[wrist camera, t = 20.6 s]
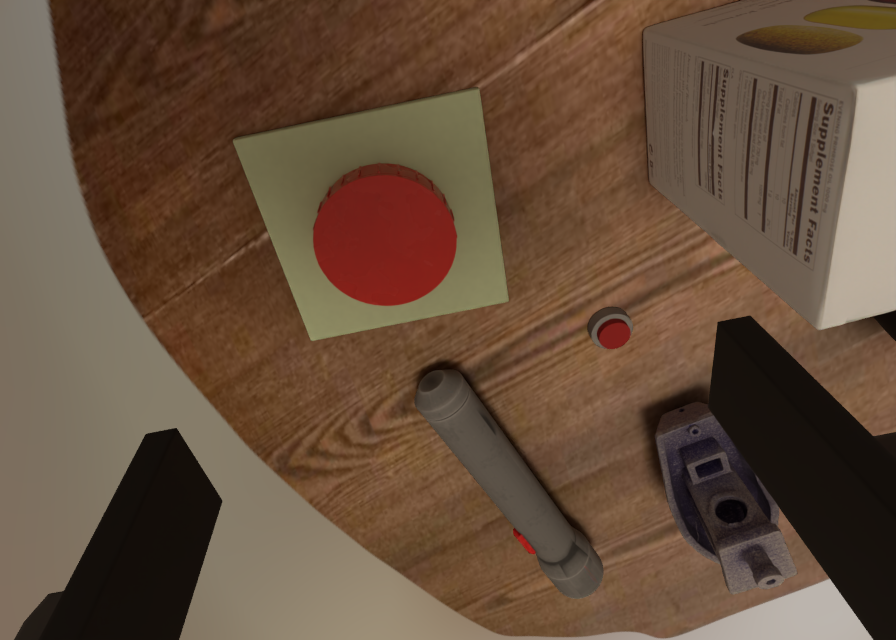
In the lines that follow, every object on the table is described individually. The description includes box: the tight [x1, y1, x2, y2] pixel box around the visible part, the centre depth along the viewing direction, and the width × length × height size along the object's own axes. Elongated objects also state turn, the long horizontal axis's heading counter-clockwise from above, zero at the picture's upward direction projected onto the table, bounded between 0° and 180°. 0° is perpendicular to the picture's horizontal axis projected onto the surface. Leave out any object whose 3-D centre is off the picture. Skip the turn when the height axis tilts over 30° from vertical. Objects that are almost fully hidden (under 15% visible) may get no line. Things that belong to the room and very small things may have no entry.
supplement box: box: [643, 0, 896, 330], centre depth 25 cm, size 10×9×17 cm
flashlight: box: [415, 369, 603, 599], centre depth 46 cm, size 5×28×5 cm
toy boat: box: [655, 402, 797, 594], centre depth 43 cm, size 15×8×13 cm, turn 26°
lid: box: [313, 162, 457, 306], centre depth 33 cm, size 8×8×2 cm
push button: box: [588, 307, 633, 349], centre depth 40 cm, size 3×3×2 cm
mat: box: [233, 87, 509, 341], centre depth 34 cm, size 14×14×1 cm
